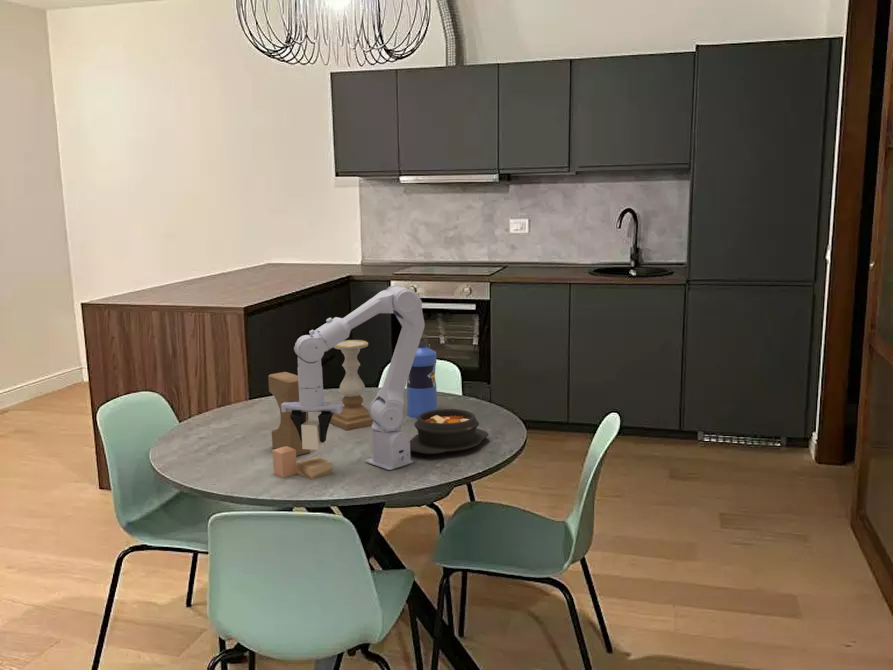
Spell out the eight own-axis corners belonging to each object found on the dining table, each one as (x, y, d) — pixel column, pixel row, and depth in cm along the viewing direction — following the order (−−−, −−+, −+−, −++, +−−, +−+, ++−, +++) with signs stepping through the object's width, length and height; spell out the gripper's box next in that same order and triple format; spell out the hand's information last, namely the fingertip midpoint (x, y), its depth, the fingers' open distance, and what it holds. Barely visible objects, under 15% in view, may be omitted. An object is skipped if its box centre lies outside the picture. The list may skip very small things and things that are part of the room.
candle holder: (346, 430, 230) (342, 348, 225) (328, 422, 238) (324, 342, 234) (379, 423, 236) (376, 343, 232) (360, 415, 245) (357, 338, 240)
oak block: (332, 473, 195) (331, 462, 195) (311, 480, 191) (311, 468, 191) (317, 468, 200) (317, 456, 199) (297, 474, 195) (296, 462, 195)
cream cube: (324, 444, 196) (323, 421, 195) (317, 450, 192) (316, 425, 191) (309, 443, 197) (308, 420, 196) (302, 449, 193) (301, 424, 192)
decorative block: (271, 447, 215) (267, 374, 212) (290, 443, 219) (287, 371, 215) (291, 457, 207) (287, 381, 203) (311, 453, 210) (307, 378, 207)
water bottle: (439, 410, 249) (437, 330, 245) (435, 418, 240) (433, 335, 236) (409, 409, 250) (407, 330, 246) (404, 418, 241) (401, 335, 237)
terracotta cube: (297, 473, 195) (295, 449, 194) (282, 477, 193) (281, 453, 192) (287, 469, 198) (286, 446, 197) (273, 473, 195) (272, 449, 194)
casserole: (438, 466, 199) (438, 433, 197) (388, 450, 211) (387, 419, 210) (504, 442, 216) (504, 412, 215) (454, 429, 229) (453, 400, 228)
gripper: (344, 382, 195) (347, 436, 197) (287, 381, 197) (290, 435, 199) (336, 389, 188) (339, 445, 190) (276, 388, 190) (280, 444, 192)
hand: (313, 441), depth 194 cm, fingers closed on cream cube, 4 cm apart
